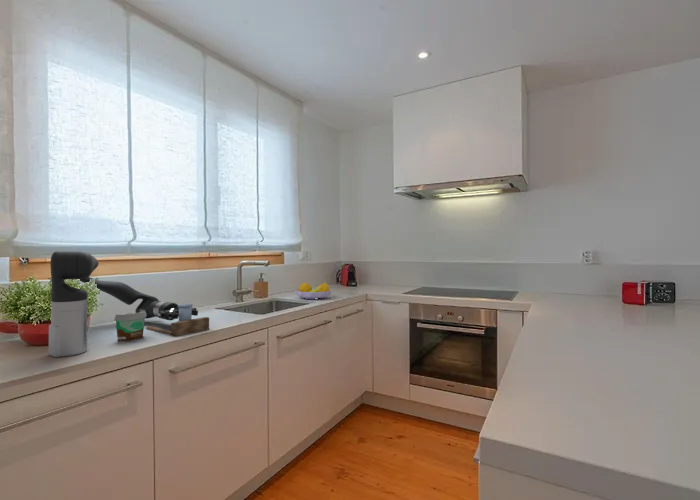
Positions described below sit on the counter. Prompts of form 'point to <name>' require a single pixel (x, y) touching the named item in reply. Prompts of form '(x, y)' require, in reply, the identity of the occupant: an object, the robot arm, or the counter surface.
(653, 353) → the counter surface
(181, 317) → the block
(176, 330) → the channel
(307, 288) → the fruit bowl
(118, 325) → the food container
